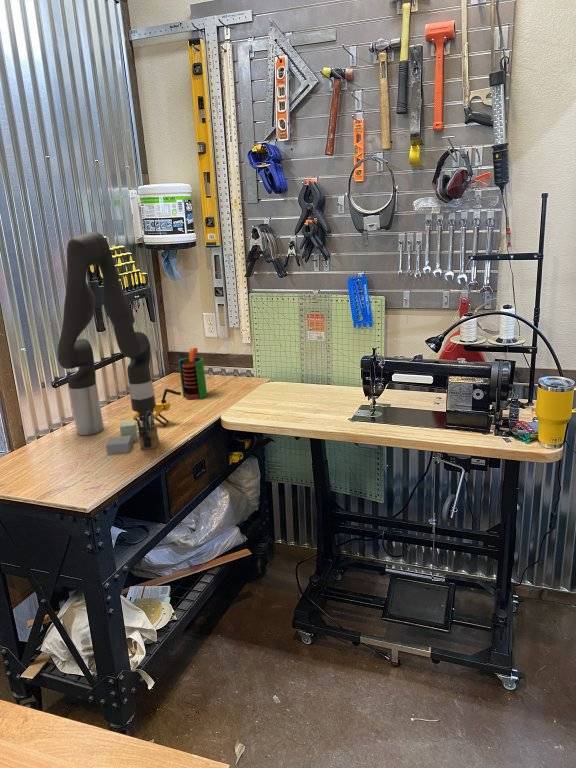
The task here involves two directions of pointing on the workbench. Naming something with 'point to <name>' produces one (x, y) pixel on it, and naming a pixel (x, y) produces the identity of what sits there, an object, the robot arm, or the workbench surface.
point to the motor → (193, 376)
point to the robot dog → (160, 407)
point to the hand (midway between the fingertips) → (149, 443)
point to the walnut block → (152, 437)
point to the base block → (119, 444)
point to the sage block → (129, 429)
